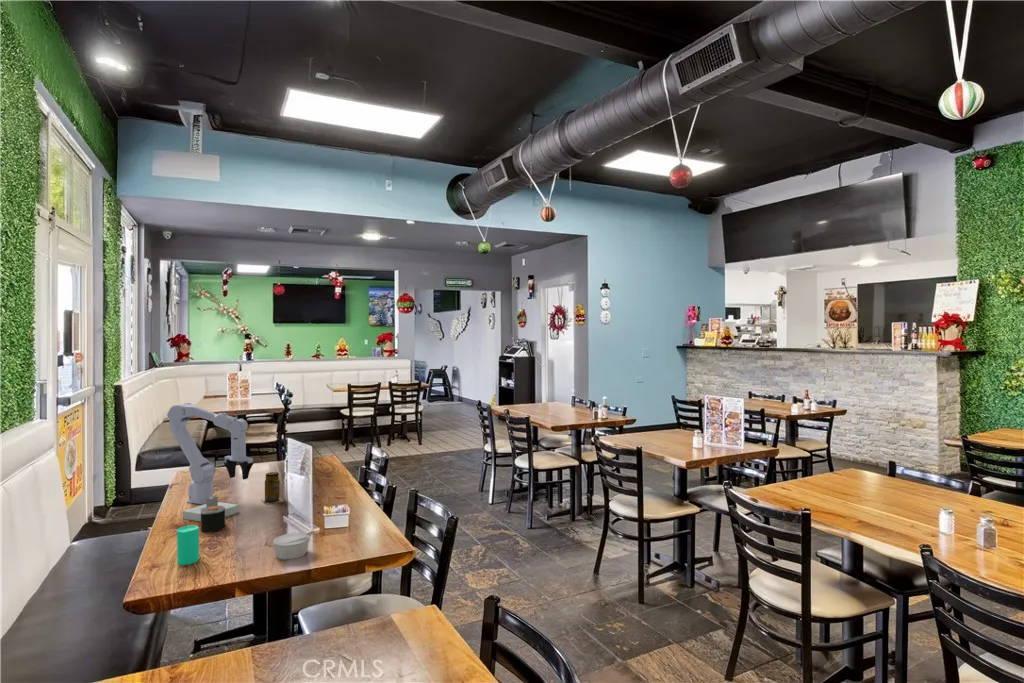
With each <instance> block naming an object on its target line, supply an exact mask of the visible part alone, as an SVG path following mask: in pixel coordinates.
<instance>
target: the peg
mask: <svg viewBox="0 0 1024 683" xmlns="http://www.w3.org/2000/svg"><path fill="white" fill-rule="evenodd" d="M218 499H219V498H218V496H216V495H215V496H214V495H213V496H212V497H208V498H206V503H205V504H206V507H207V508H208V507H211V506H218V502H219V500H218Z"/></svg>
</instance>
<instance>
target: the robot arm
mask: <svg viewBox="0 0 1024 683" xmlns="http://www.w3.org/2000/svg"><path fill="white" fill-rule="evenodd" d="M166 415H167V417H168V421H169V429H170V431H171V433H172V436H174V438H175V440H176V442H177V444H178V445H179V447H180V449H181V450H182V452H183V454H184V455H185V458H186V459H187V461H188V462H189V467H188V470H189V473H190V478H191V480H192V481H191V482H190V483H189V485H188V500H186V502H187V503H190V504H191V503H192V504H198V505H204V504H206V498H208V497H212V496H214V480H213V479H214V476H215V474H216V472H217V469H216V466H215V465H214V463H213V464H212V463H211V462H210V460H209V459H207V458H206V457H204V456H203V455H202V452H201V450H200V449H199V447H198V446H197V443H196V442H195V440H194V439H193V437H192V436H191V434H190V432H189V430H188V428H187V423H188V421H189V420H190V419H191V418H192V417H197V418H201V419H204V420H208V421H211V422H212V423H213V425H214V426H216V427H219V428H222V429H224V430H226V431H229V433H230V442H231V444H230V449H231V450H230V452H231V454H230V455H226V456H224V462H223V465H224V466H225V468H226V471H227V473H228V476H229V478H230V479H233V478H235V477H236V469H237V464H238V463H239V466H240V470H241V475H242V480H247V479H249V475H250V472H251V469H252V467H253V466H254V458H253V457H250V456H247V450H246V449H247V448H246V446H247V441H246V440H247V438H246V437H247V436H246V433H247V432H246V430H247V429H248V427H249V424H248V422H247V420H245V419H244V418H238V417H237V416H230V415H228V414H227V412H219V413H218V414H217V413H215V412H213V411H211V410H208V409H205V408H203V407H200V406H198V405H196V404H193V403H191V402H184V403H181V404H176V405H175V404H174V405H172V406H171V407H170V408H169V410H168V412H167V414H166Z"/></svg>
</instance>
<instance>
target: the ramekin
mask: <svg viewBox="0 0 1024 683" xmlns="http://www.w3.org/2000/svg"><path fill="white" fill-rule="evenodd" d="M309 542H310V535H309V534H308V533H304V532H292V533H286V534H283V535H279V536H276V537H275V538H274V539H273V540H272V545H273V548H274V555H275V557H276V558H277V559H279V560H285V561H286V559H290V560H295V559H294V558H296V559H298V557H299V558H301V557H303V556H305V553H307V552H308V547H309Z"/></svg>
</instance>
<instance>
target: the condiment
mask: <svg viewBox="0 0 1024 683" xmlns="http://www.w3.org/2000/svg"><path fill="white" fill-rule="evenodd" d="M279 475H280V474H279V472H277V471H270V472H267V473H265V480H264V499H263V498H262V499H261V502H263V503H264V504H266V505H272V504H277V503H282V502H284V500H283V499H282V498H280V497H281V496H280V495H281V487H280V486H281V485H280V478H279Z"/></svg>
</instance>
